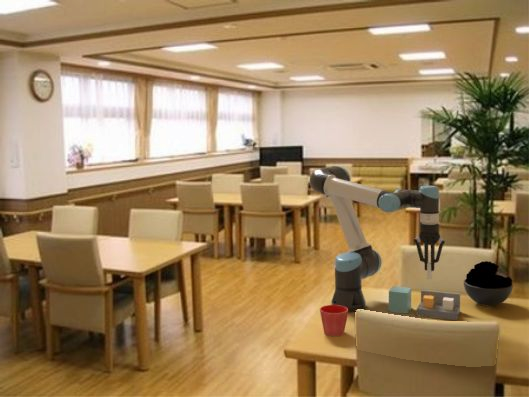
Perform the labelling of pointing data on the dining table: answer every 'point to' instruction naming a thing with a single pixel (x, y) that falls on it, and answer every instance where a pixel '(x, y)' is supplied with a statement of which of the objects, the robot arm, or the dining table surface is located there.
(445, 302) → the plain button
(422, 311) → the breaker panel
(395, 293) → the cover
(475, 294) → the bowl of black rocks
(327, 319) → the flower pot
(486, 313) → the dining table surface
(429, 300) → the tagged button
